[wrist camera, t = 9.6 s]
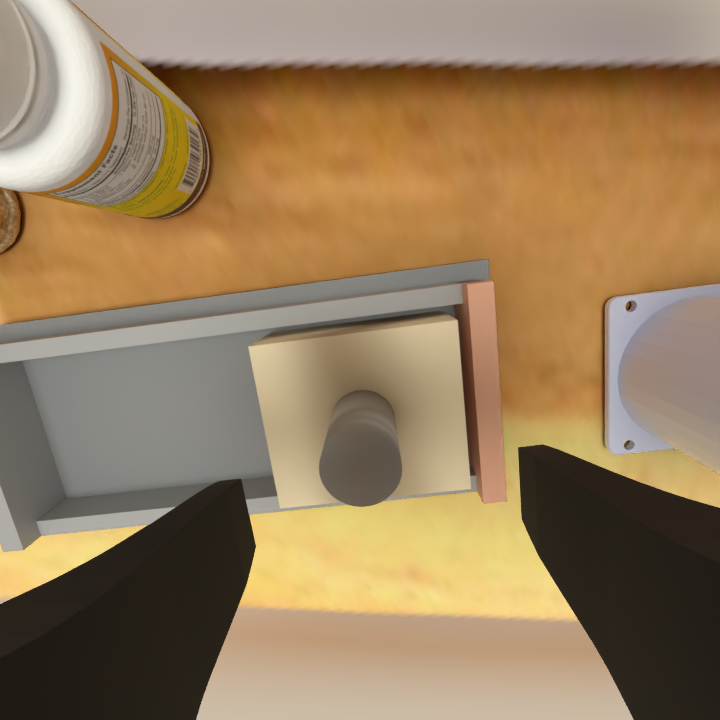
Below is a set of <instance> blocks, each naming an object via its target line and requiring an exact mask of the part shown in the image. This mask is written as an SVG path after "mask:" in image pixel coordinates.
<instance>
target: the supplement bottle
mask: <svg viewBox="0 0 720 720" xmlns="http://www.w3.org/2000/svg"><path fill="white" fill-rule="evenodd" d="M208 172H209V148H208V143H207V139H206V136H205V133H204V131H203V128H202V126H201V124H200V122H199V121H198V119H197V117H196V116H195V114H194V113H193V112H192V110H191V109H190V108H189V107H188V106H187V105H186V104H185V103H184V102H183V101H182V100H181V99H180V98H179V97H178V96H177V95H176V94H175V93H174V92H173V91H171V90H170V89H169V88H168V87H167V86H166V85H165V84H163V83H162V82H161V81H160V80H159V79H158V78H157V77H156V76H154V75H153V74H152V73H151V72H150V71H149V70H148V69H146V68H145V67H144V66H143V65H142V64H141V63H140V62H138V61H137V60H136V59H135V58H134V57H133V56H132V55H131V54H129V53H128V52H127V51H126V50H125V49H124V48H123V47H122V46H120V45H119V44H118V43H117V42H116V41H115V40H114V39H112V37H110V36H109V35H108V34H107V33H106V32H105V31H104V30H103V29H101V28H100V27H99V26H98V25H97V24H96V23H95V22H94V21H92V20H91V19H90V18H89V17H88V16H87V15H86V14H85V13H84V12H82V11H81V10H80V9H79V8H78V7H77V6H76V5H75V4H73V3H72V2H71V1H70V0H0V187H2V188H6V189H10V190H15V191H19V192H24V193H28V194H33V195H38V196H43V197H48V198H52V199H56V200H61V201H64V202H70V203H75V204H80V205H84V206H89V207H94V208H98V209H103V210H108V211H112V212H117V213H122V214H126V215H131V216H136V217H140V218H149V219H159V218H166V217H170V216H173V215H176V214H178V213H180V212H182V211H184V210H185V209H186V208H188V207H189V206H190V205H191V204H192V203H193V202H194V201H195V200H196V199H197V198H198V196H199V195H200V193H201V192H202V190H203V188H204V185H205V183H206V180H207V177H208Z"/></svg>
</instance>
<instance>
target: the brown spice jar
mask: <svg viewBox="0 0 720 720" xmlns="http://www.w3.org/2000/svg"><path fill="white" fill-rule="evenodd" d="M20 216H21V211H20V209H19V202H18V199H17V197H16V194H15V192H14V191H13V190H10V189H6V188H2V187H0V253H1V252H3V251H4V250H6V249H7V248H8V247H10V246H11V245H12V244H13V243H14V242H15V241H16V237H17V234H18V233H19V229H20Z"/></svg>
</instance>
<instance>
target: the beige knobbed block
mask: <svg viewBox="0 0 720 720" xmlns="http://www.w3.org/2000/svg"><path fill="white" fill-rule="evenodd" d="M248 348H249V353H250V359H251V364H252V369H253V374H254V379H255V384H256V389H257V394H258V399H259V404H260V409H261V415H262V420H263V425H264V430H265V435H266V440H267V445H268V450H269V455H270V460H271V465H272V470H273V476H274V481H275V486H276V491H277V496H278V501H279V506H280V509H281V508H291V507H300V506H310V505H320V504H330V503H339V502H343V503H345V504H348V505H352V506H360V507H362V506H371V505H374V504H377V503H380V502H382V501H384V500H385V499H387V498H388V497H398V496H407V495H417V494H427V493H437V492H446V491H456V490H466V489H471V481H470V468H469V456H468V443H467V431H466V418H465V406H464V393H463V381H462V368H461V356H460V343H459V331H458V320H457V319H455V318H453V317H452V316H450V315H448V314H447V313H445V312H443V311H433V312H425V313H417V314H410V315H402V316H394V317H386V318H379V319H371V320H363V321H355V322H347V323H340V324H332V325H324V326H316V327H309V328H301V329H293V330H285V331H278V332H271V333H269V334H268V335H266V336H264V337H263V338H261V339H260V340H258V341H256V342H255V343H253V344H252V345H250V346H248Z"/></svg>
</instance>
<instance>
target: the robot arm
mask: <svg viewBox="0 0 720 720" xmlns="http://www.w3.org/2000/svg"><path fill="white" fill-rule="evenodd" d="M629 301H630V302H631V304H632V306H631V308H630V309H629V310H628V311H627V310H626V308H625V306H626V304H627V302H629ZM628 440H630V442H629V444H628V445H627V446H625V447H624V443H625V442H626V441H628ZM605 447H606V449H607V450H608V451H609V452H611V453H612V454H614V455H621V454H631V453H640V452H650V451H659V450H669V449H677V450H679V451H680V452H682V453H684V454H686V455H687V456H689V457H691V458H692V459H694V460H696V461H697V462H699V463H701V464H703V465H704V466H706V467H708V468H709V469H711V470H713V471H714V472H716V473H718V474H720V283H717V284H709V285H702V286H694V287H686V288H678V289H670V290H662V291H655V292H647V293H639V294H631V295H623V296H616V297H612V298H611V299H609V300H608V301H607V303H606V305H605ZM518 453H519V473H520V493H521V513H522V520H523V523H524V525H525V527H526V530H527V532H528V534H529V536H530V539H531V541H532V543H533V545H534V547H535V549H536V551H537V553H538V555H539V557H540V559H541V560H542V562H543V564H544V565H545V567H546V569H547V570H548V572H549V573H550V575H551V577H552V578H553V580H554V582H555V583H556V585H557V586H558V588H559V590H560V591H561V593H562V594H563V596H564V598H565V599H566V601H567V602H568V604H569V605H570V607H571V609H572V610H573V612H574V613H575V615H576V617H577V618H578V620H579V621H580V623H581V625H582V626H583V628H584V629H585V631H586V632H587V634H588V636H589V637H590V639H591V640H592V642H593V644H594V645H595V647H596V649H597V651H598V652H599V654H600V656H601V657H602V659H603V661H604V663H605V664H606V666H607V668H608V670H609V672H610V674H611V676H612V677H613V680H614V682H615V683H616V685H617V687H618V689H619V691H620V693H621V695H622V697H623V699H624V701H625V703H626V705H627V707H628V709H629V711H630V713H631V715H632V717H633V719H634V720H720V508H718V507H714V506H711V505H707V504H704V503H700V502H697V501H693V500H690V499H687V498H684V497H681V496H677V495H674V494H671V493H668V492H665V491H663V490H660V489H657V488H654V487H651V486H649V485H646V484H643V483H640V482H637V481H635V480H632V479H630V478H627V477H624V476H622V475H619V474H617V473H614V472H612V471H609V470H607V469H604V468H602V467H599V466H597V465H595V464H592V463H590V462H587V461H585V460H582V459H580V458H578V457H575V456H573V455H570V454H568V453H565V452H563V451H560V450H558V449H555V448H552V447H549V446H546V445H535V446H526V447H518ZM255 548H256V545H255V540H254V536H253V531H252V526H251V522H250V517H249V512H248V508H247V503H246V499H245V494H244V489H243V485H242V480H241V479H232V480H223V481H218V482H215V483H213V484H211V485H210V486H208V487H206V488H205V489H203V490H201V491H200V492H198V493H196V494H195V495H193V496H192V497H190V498H189V499H187V500H186V501H184V502H183V503H181V504H180V505H178V506H177V507H175V508H174V509H172V510H171V511H169V512H168V513H166V514H165V515H163V516H162V517H160V518H159V519H157V520H156V521H154V522H152V523H151V524H149V525H148V526H146V527H144V528H143V529H141V530H140V531H138V532H136V533H135V534H133V535H132V536H130V537H128V538H127V539H125V540H124V541H122V542H120V543H119V544H117V545H115V546H114V547H112V548H110V549H109V550H107V551H105V552H104V553H102V554H100V555H98V556H97V557H95V558H93V559H91V560H89V561H88V562H86V563H84V564H82V565H80V566H78V567H76V568H74V569H72V570H71V571H69V572H67V573H65V574H63V575H61V576H59V577H57V578H55V579H53V580H51V581H49V582H47V583H45V584H43V585H41V586H38V587H36V588H34V589H32V590H30V591H28V592H25V593H23V594H21V595H19V596H17V597H15V598H12V599H10V600H8V601H6V602H4V603H2V604H0V720H196V717H197V714H198V711H199V707H200V704H201V701H202V698H203V695H204V692H205V690H206V687H207V684H208V681H209V679H210V676H211V673H212V671H213V668H214V666H215V663H216V661H217V658H218V655H219V653H220V651H221V648H222V646H223V643H224V641H225V638H226V636H227V633H228V631H229V628H230V625H231V623H232V620H233V618H234V616H235V613H236V610H237V608H238V605H239V603H240V600H241V597H242V595H243V592H244V590H245V587H246V584H247V581H248V577H249V573H250V569H251V565H252V561H253V557H254V552H255Z"/></svg>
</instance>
